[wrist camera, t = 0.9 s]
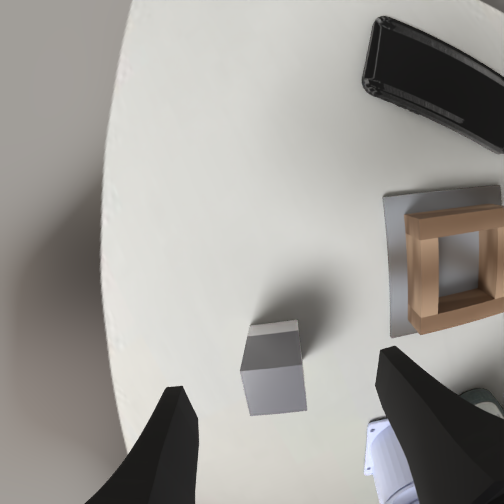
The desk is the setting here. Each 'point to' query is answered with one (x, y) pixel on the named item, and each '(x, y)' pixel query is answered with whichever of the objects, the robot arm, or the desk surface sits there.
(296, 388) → the connector plug
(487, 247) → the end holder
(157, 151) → the desk surface
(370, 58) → the phone
